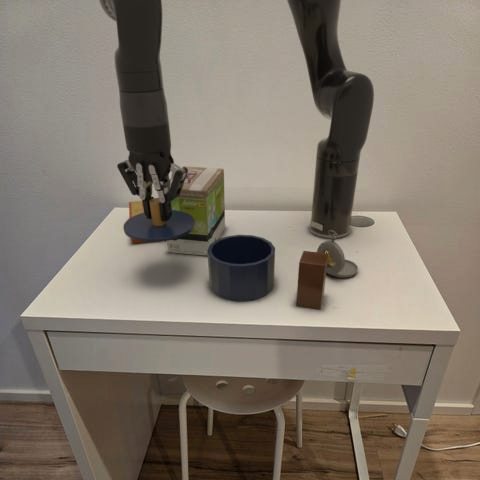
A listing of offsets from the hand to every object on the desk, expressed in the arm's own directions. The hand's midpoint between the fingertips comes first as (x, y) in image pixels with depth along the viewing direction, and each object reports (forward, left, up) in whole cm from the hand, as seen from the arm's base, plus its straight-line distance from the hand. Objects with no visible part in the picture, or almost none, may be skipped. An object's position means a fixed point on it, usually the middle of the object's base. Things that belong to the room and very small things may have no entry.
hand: (158, 218), depth 82 cm
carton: (-17, -15, -12) cm, 26 cm away
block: (-1, +30, -12) cm, 32 cm away
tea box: (-16, -1, -12) cm, 20 cm away
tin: (-2, +16, -12) cm, 20 cm away
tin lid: (0, 0, -2) cm, 2 cm away
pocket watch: (-13, +32, -12) cm, 37 cm away
